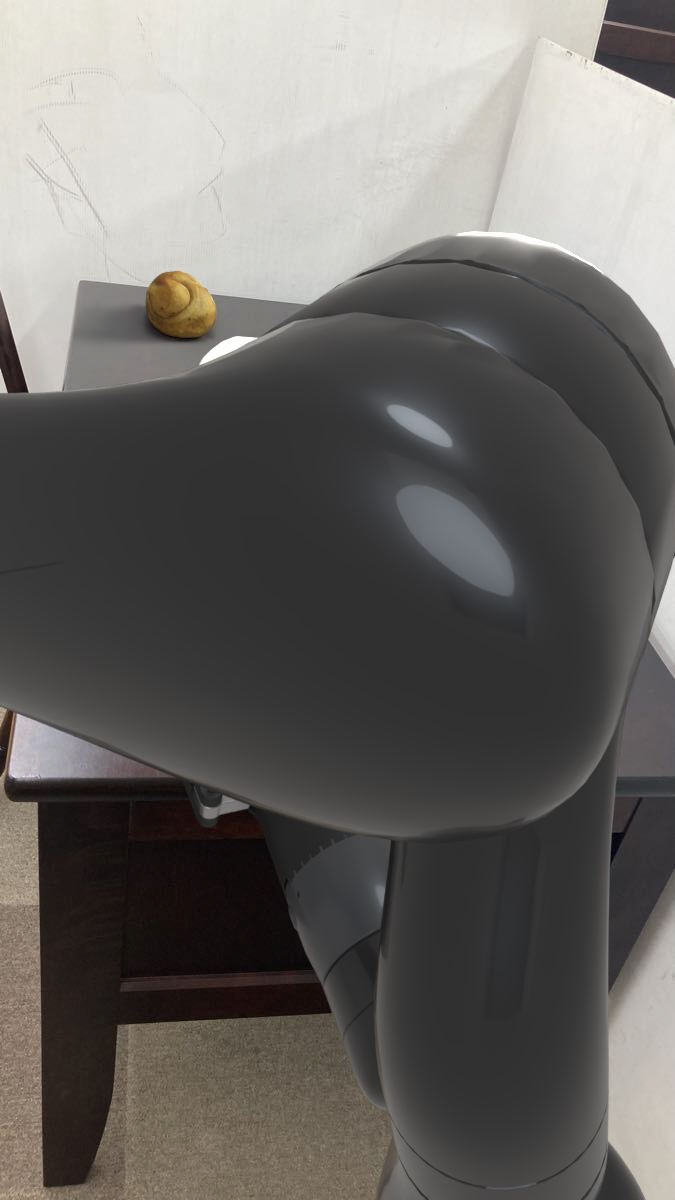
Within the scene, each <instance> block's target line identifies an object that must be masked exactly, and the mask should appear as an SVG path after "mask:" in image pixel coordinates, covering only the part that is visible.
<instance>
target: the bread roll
mask: <svg viewBox="0 0 675 1200" xmlns="http://www.w3.org/2000/svg"><path fill="white" fill-rule="evenodd" d="M145 310H146V315H147V317H148V320H149V321H150V323H151V324H152V326H153V327H154V328H155V329H156V330H157V331H159V332H161V333H162V334H164V335H166V336H170V337H173V338H181V339H182V338H183V339H185V338H186V339H187V338H198V337H203V336H204V335H206V334H208V332H209V331H210V330H212V328H213V327H214V325H215V323H216V321H217V317H218V316H217V306H216V302H215V300H214V299H213V297H212V294H211V293H210V292H209V290H208V288H206V287H204V286H203V285H202V283H201V282H200V281H199V280H197V278H195V277H194V276H193V275H191V274H190V273H187V272H184V271H181V270H173V271H164V272H161V273H160V274H158V275H157V276H156V277H155V278H154V279H152V281H151V283H150V284H149V285H148V287H147V290H146V293H145Z"/></svg>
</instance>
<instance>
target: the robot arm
mask: <svg viewBox="0 0 675 1200" xmlns="http://www.w3.org/2000/svg"><path fill="white" fill-rule="evenodd" d="M256 338H257V339H255V340H253V341H251V342H248V343H246V344H245V345H243V346H241V347H239V348H238V349H236V350H233V351H231V352H229V353H227V354H225V355H222V356H220V357H218V358H215V359H213V360H211V361H208V362H206V363H203V364H201V365H199V364H198V365H196V366H194V367H191V368H189V369H185V370H184V371H180V372H177V373H174V374H168V375H164V376H161V377H156V378H149V379H145V380H140V381H134V382H127V383H121V384H114V385H106V386H101V387H100V386H99V387H92V388H84V389H71V390H69V389H68V390H57V391H56V390H55V391H43V392H0V707H1V708H2V709H4V710H7V711H10V712H12V713H15V714H17V715H20V716H22V717H25V718H27V719H30V720H32V721H35V722H37V723H38V724H41V725H45V726H47V727H50V728H52V729H54V730H58V731H59V732H62V733H65V734H66V735H70V736H72V737H74V738H77V739H80V740H82V741H84V742H87V743H89V744H92V745H94V746H97V747H99V748H102V749H103V750H106V751H109V752H112V753H114V754H117V755H118V756H119V755H120V756H122V757H124V758H126V759H130V760H131V761H134V762H137V763H139V764H141V765H144V766H147V767H149V768H151V769H154V770H157V771H159V772H162V773H164V774H166V775H169V776H171V777H174V778H176V779H178V780H179V779H180V780H181V781H182V783H183V786H184V789H185V791H186V794H187V797H188V799H189V802H190V805H191V807H192V810H193V813H194V816H195V818H196V822H197V823H198V825H200V826H201V827H203V828H209V829H210V828H214V827H215V826H216V825H218V823H219V822H220V816H222V815H226V814H231V813H235V812H238V811H243V810H244V811H245V810H247V811H248V812H249V813H250V814H251V815H252V816H254V817H255V819H256V820H257V821H258V822H259V824H260V827H261V830H262V834H263V838H264V841H265V843H266V846H267V850H268V852H269V854H270V857H271V861H272V864H273V867H274V869H275V872H276V874H277V877H278V880H279V884H280V886H281V888H282V892H283V896H284V897H285V899H286V903H287V906H288V908H287V910H288V915H289V918H290V921H291V924H292V926H293V928H294V929H295V931H297V934H298V937H299V940H300V942H301V945H302V948H303V950H304V952H305V955H306V957H307V959H308V961H309V963H310V965H311V966H312V968H313V970H314V972H315V974H316V976H317V978H318V980H319V982H320V985H321V987H322V989H323V992H324V995H325V997H326V1000H327V1003H328V1005H329V1008H330V1011H331V1014H332V1017H333V1020H334V1023H335V1025H336V1028H337V1031H338V1034H339V1036H340V1039H341V1042H342V1044H343V1048H344V1051H345V1054H346V1057H347V1059H348V1062H349V1064H350V1068H351V1070H352V1072H353V1075H354V1078H355V1080H356V1082H357V1084H358V1086H359V1088H360V1090H361V1093H362V1094H363V1095H364V1097H365V1098H366V1099H367V1100H368V1101H369V1102H370V1103H371V1104H372V1105H374V1107H376V1108H378V1109H380V1110H384V1111H386V1112H387V1117H388V1121H389V1126H390V1131H391V1138H390V1142H389V1146H388V1149H387V1152H386V1156H385V1159H384V1162H383V1166H382V1170H381V1173H380V1176H379V1181H378V1184H377V1190H376V1196H375V1200H647V1199H646V1198H645V1197H646V1196H645V1194H644V1193H643V1191H642V1189H641V1187H640V1184H639V1183H638V1181H637V1179H636V1177H635V1176H634V1174H633V1173H632V1170H630V1168H629V1167H628V1165H627V1163H626V1162H625V1161H624V1159H623V1158H622V1156H621V1155H620V1153H619V1152H618V1151H617V1150H616V1149H615V1147H614V1146H613V1145H612V1143H611V1142H610V1141H609V1110H610V1109H609V1108H610V1107H609V1105H610V1104H609V1103H610V1102H609V1100H610V1099H609V1097H610V1087H609V1085H610V1083H609V1082H610V1081H609V1080H610V1076H609V1075H610V1063H609V1062H610V1059H609V1058H610V1055H609V1053H610V1051H609V1050H610V1049H609V1047H610V1045H609V1044H610V1043H609V1042H610V1041H609V1038H610V1037H609V1035H610V1034H609V923H610V922H609V920H610V919H609V915H610V914H609V913H610V880H611V879H610V871H611V852H612V835H613V824H614V823H613V822H614V821H613V820H614V811H615V800H616V789H617V779H618V772H619V762H620V755H621V747H622V739H623V732H624V731H623V730H624V723H625V719H626V711H627V706H628V703H629V699H630V696H631V693H632V691H633V688H634V685H635V682H636V680H637V676H638V674H639V670H640V667H641V665H642V662H643V659H644V655H645V652H646V649H647V646H648V642H649V640H650V635H651V633H652V630H653V626H654V624H655V620H656V617H657V614H658V611H659V607H660V604H661V601H662V598H663V595H664V592H665V589H666V586H667V582H668V579H669V576H670V573H671V570H672V568H673V562H674V559H675V366H674V364H673V362H672V359H671V357H670V355H669V352H668V351H667V349H666V347H665V345H664V342H663V340H662V338H661V335H660V334H659V332H658V331H657V330H656V328H655V327H654V325H653V324H652V323H651V322H650V320H649V319H648V317H646V315H645V314H644V313H643V311H642V310H641V309H640V307H639V306H638V304H637V303H636V302H635V300H634V299H633V298H632V297H631V295H630V294H629V293H627V292H626V291H625V290H624V289H623V288H622V287H620V286H619V284H617V283H616V282H614V280H612V279H611V278H610V277H609V276H608V275H606V274H605V273H604V272H603V271H602V270H600V268H598V267H597V266H596V265H594V264H592V263H590V262H589V261H587V260H585V259H583V258H582V257H579V256H577V255H575V254H574V253H572V252H570V251H568V250H566V249H565V248H563V247H561V246H559V245H557V244H554V243H551V242H547V241H543V240H540V239H537V238H532V237H529V236H525V235H522V234H518V233H511V232H493V231H492V232H489V231H466V232H459V233H451V234H445V235H441V236H437V237H433V238H428V239H426V240H424V241H422V242H419V243H416V244H414V245H411V246H408V247H406V248H403V249H401V250H398V251H396V252H394V253H392V254H390V255H388V256H386V257H385V258H383V259H381V260H378V261H376V262H375V263H373V264H371V265H370V266H368V267H366V268H364V269H363V270H360V271H359V272H357V273H355V274H354V275H351V276H350V277H349V278H347V279H345V280H344V281H342V282H340V283H339V284H337V285H335V287H333V288H332V289H330V290H329V291H328V292H326V293H324V294H322V295H321V296H320V297H318V298H317V299H315V300H314V301H312V302H311V303H309V304H308V305H306V306H305V307H303V308H301V309H300V310H299V311H297V312H296V313H294V314H292V315H291V316H288V317H287V318H286V319H285V320H282V321H281V322H279V323H278V324H276V325H275V326H274V327H271V329H269V330H267V331H266V332H265V333H263V334H261V335H260V336H259V337H256Z"/></svg>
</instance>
